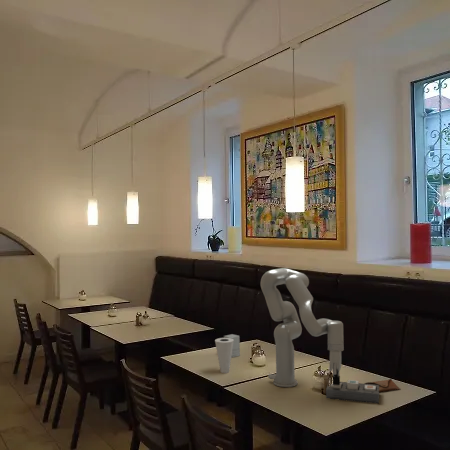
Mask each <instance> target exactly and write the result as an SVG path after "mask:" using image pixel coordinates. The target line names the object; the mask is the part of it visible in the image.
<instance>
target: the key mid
mask: <svg viewBox="0 0 450 450" xmlns="http://www.w3.org/2000/svg"><path fill="white" fill-rule="evenodd" d="M346 382H347V389H356V390H358V389H359V383H360V382H359V380H353V379H347V381H346Z"/></svg>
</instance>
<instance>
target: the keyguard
mask: <svg viewBox="0 0 450 450" xmlns="http://www.w3.org/2000/svg"><path fill="white" fill-rule="evenodd" d="M347 382H348V381H340V383H342V388H333V387H329V386H328V385H327V386H326V390H325V396H326V397H325V399H326V398H330V399H329V400H335V399H339V400H338V401H346V400H347V402H356V403H357V402H359V403H367V404H368V403H369V404H379V402H380V393H379V385H373V384H364V383H360V382H358V383H359V389H358V390H356V389H347ZM365 385H371V386H376V391H368V390H364V388H365Z"/></svg>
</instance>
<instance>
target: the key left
mask: <svg viewBox="0 0 450 450" xmlns="http://www.w3.org/2000/svg"><path fill="white" fill-rule="evenodd" d="M330 387H333V388H342V383H340V384H339V385H336V384H331V385H330Z"/></svg>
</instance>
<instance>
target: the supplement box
mask: <svg viewBox="0 0 450 450" xmlns="http://www.w3.org/2000/svg"><path fill="white" fill-rule="evenodd" d="M223 338H231V339H233V340H234V342H233V349H232V355H231V359H232V358H236V357H240V356H241V349H240V346H241V345H240V343H241V341H240V335H237V334H233V333H231V334H227V335H223Z"/></svg>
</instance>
